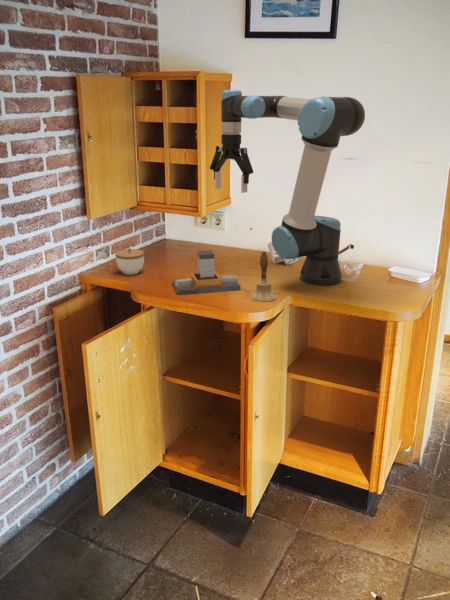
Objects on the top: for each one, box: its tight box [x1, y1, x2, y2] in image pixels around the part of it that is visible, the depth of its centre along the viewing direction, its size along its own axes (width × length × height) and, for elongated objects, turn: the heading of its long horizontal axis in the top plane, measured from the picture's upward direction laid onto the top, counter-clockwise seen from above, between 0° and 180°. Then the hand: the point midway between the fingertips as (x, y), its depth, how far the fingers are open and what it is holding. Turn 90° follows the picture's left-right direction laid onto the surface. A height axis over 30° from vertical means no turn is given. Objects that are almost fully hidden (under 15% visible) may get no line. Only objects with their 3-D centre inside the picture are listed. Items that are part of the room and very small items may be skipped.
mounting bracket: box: [267, 241, 303, 266], centre depth 227 cm, size 12×6×11 cm, turn 144°
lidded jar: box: [114, 247, 145, 276], centre depth 212 cm, size 11×11×9 cm
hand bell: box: [250, 251, 277, 303], centre depth 185 cm, size 8×8×16 cm
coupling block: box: [196, 250, 215, 280], centre depth 196 cm, size 5×5×11 cm
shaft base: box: [171, 270, 241, 296], centre depth 197 cm, size 22×12×4 cm, turn 104°
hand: (230, 190), depth 219 cm, fingers open, 13 cm apart
